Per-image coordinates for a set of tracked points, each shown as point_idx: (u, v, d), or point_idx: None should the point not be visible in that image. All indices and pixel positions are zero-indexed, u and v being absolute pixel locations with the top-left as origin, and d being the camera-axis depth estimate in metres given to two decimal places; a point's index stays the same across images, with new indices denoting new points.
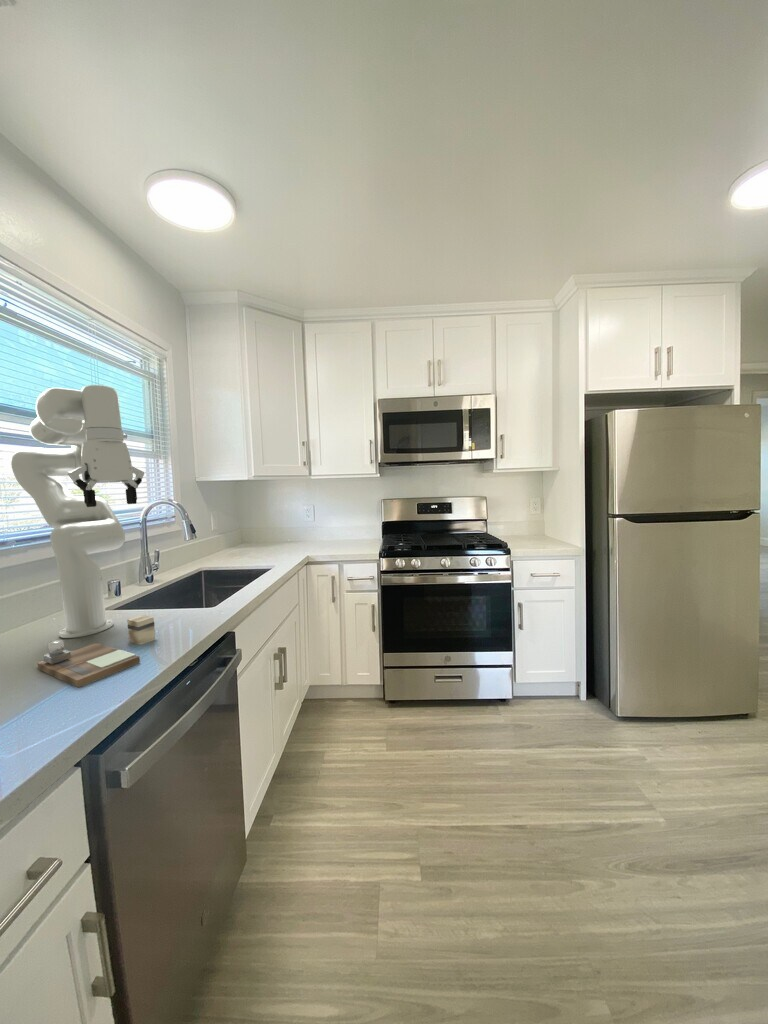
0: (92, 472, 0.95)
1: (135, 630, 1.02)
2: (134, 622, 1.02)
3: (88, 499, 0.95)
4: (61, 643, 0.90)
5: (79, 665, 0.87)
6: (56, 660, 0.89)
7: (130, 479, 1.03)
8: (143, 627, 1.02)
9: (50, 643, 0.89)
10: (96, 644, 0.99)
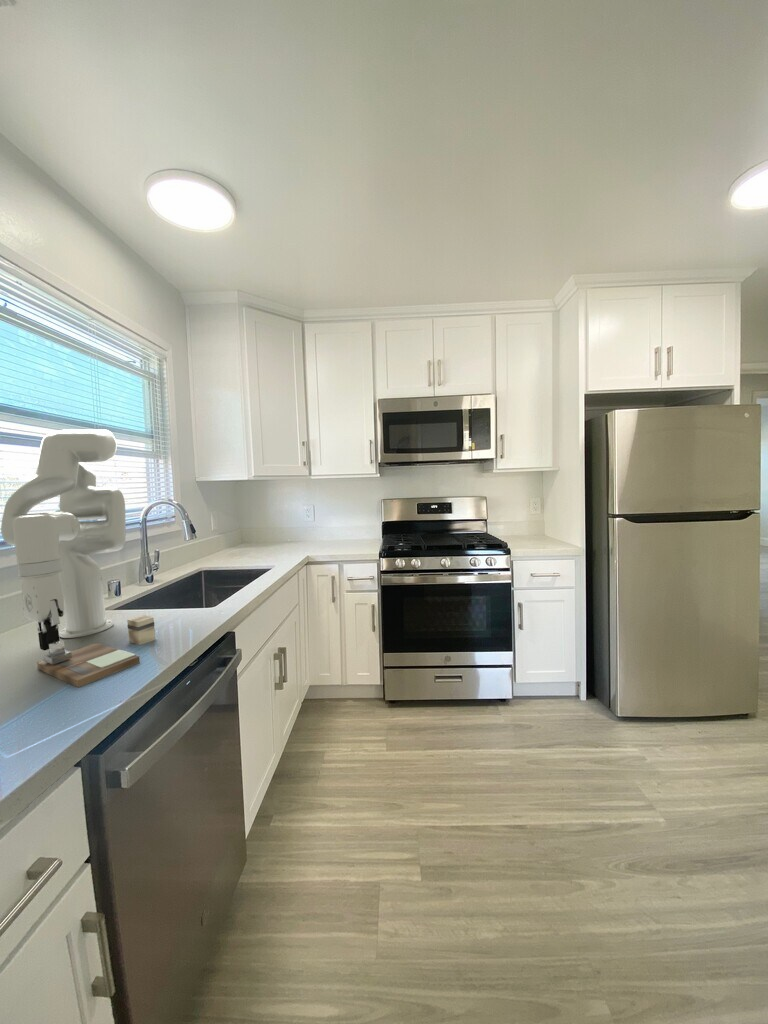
0: (63, 607, 0.90)
1: (135, 630, 1.02)
2: (134, 622, 1.02)
3: (56, 639, 0.91)
4: (62, 643, 0.90)
5: (79, 665, 0.87)
6: (57, 660, 0.88)
7: None
8: (143, 627, 1.02)
9: (51, 643, 0.89)
10: (96, 644, 0.99)
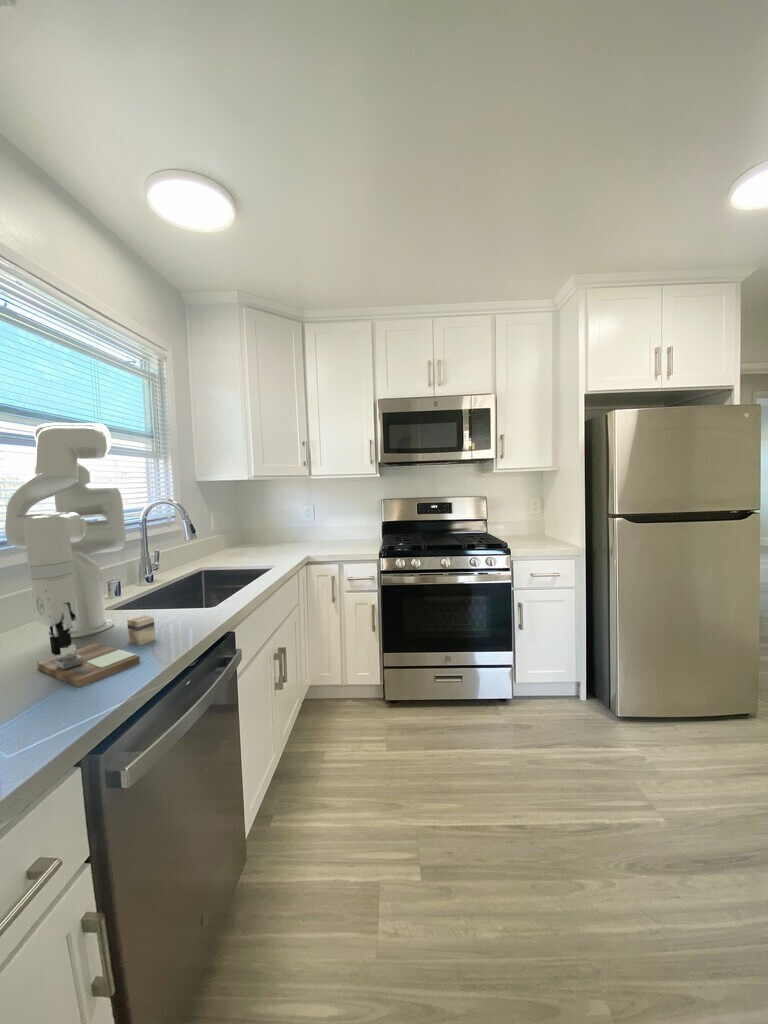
0: (75, 610, 0.87)
1: (135, 630, 1.02)
2: (134, 622, 1.02)
3: None
4: (73, 647, 0.87)
5: (79, 665, 0.87)
6: (68, 665, 0.85)
7: None
8: (143, 627, 1.02)
9: (62, 647, 0.86)
10: (96, 644, 0.99)
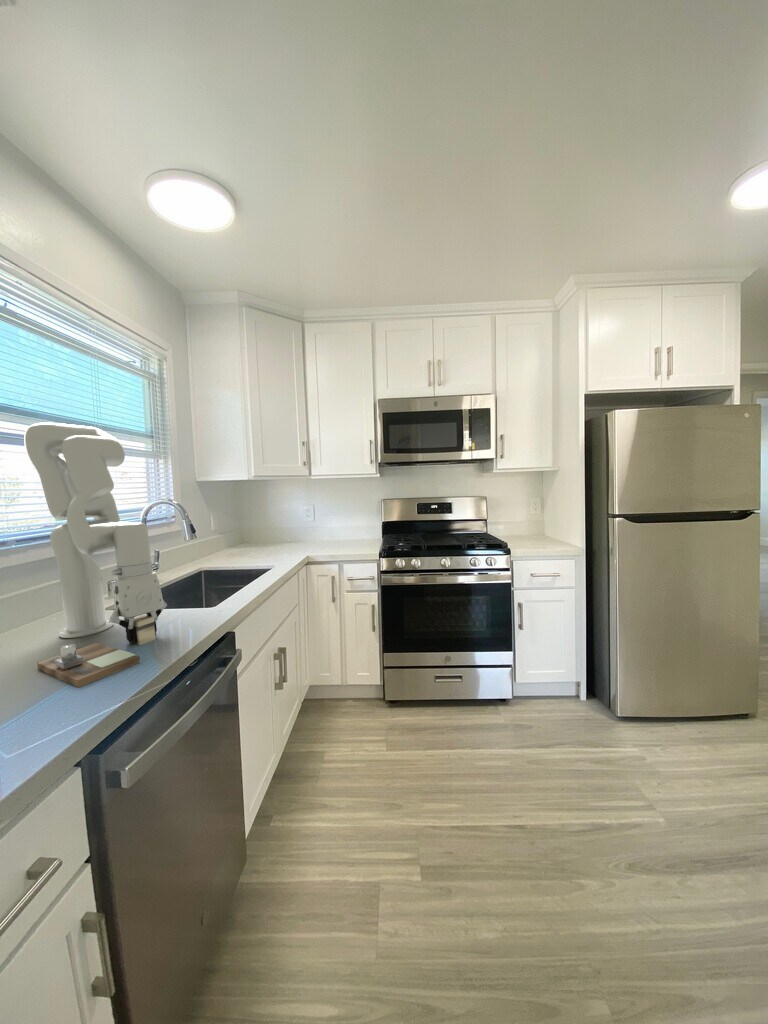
0: None
1: None
2: (134, 622, 1.02)
3: None
4: (73, 647, 0.87)
5: (79, 665, 0.87)
6: (68, 665, 0.85)
7: None
8: (143, 626, 1.02)
9: (62, 647, 0.86)
10: (96, 644, 0.99)
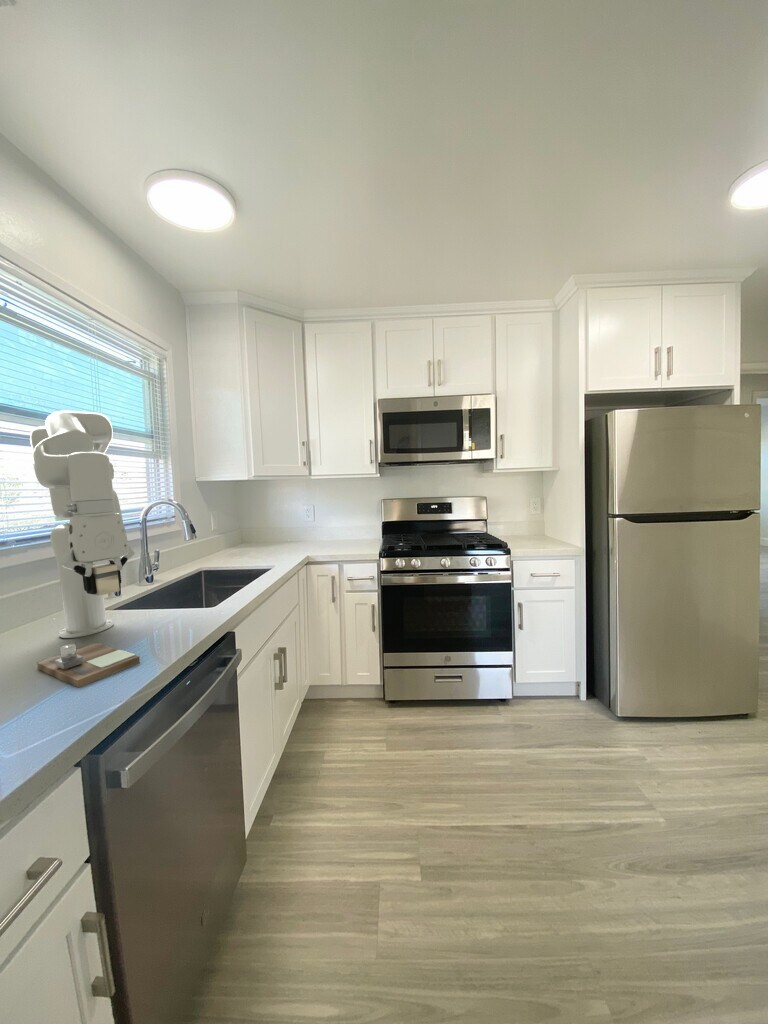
0: None
1: None
2: (93, 569, 0.86)
3: None
4: (73, 647, 0.87)
5: (79, 665, 0.87)
6: (68, 665, 0.85)
7: None
8: (103, 574, 0.87)
9: (62, 647, 0.86)
10: (96, 644, 0.99)
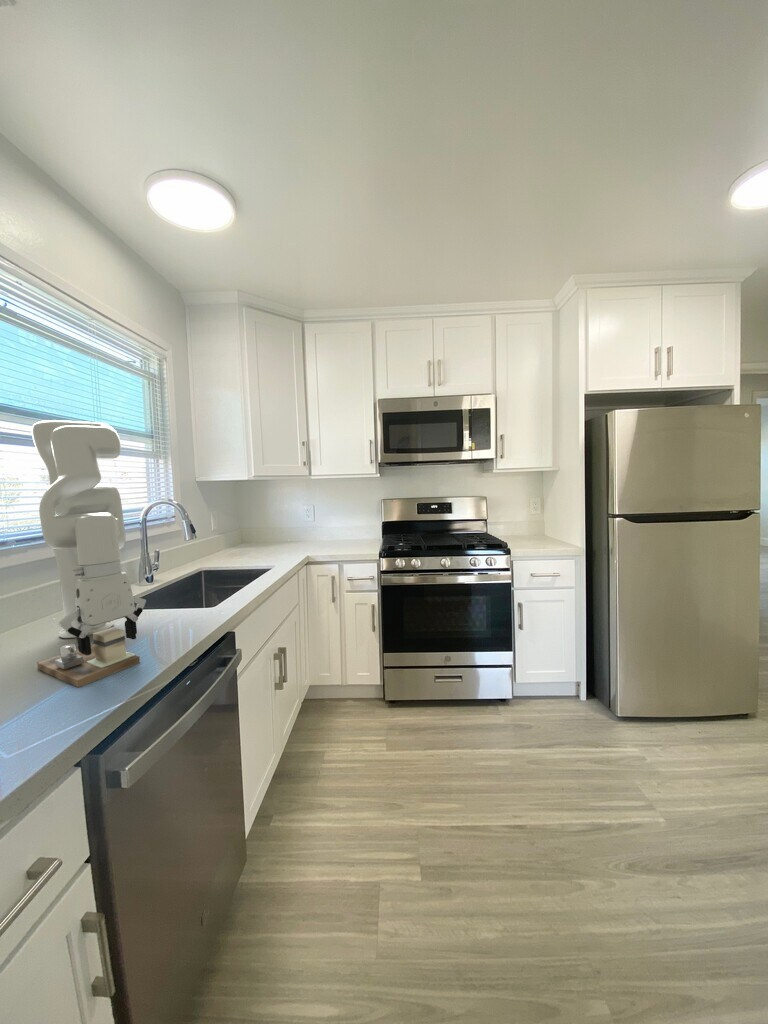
0: None
1: (101, 645, 0.87)
2: (100, 637, 0.87)
3: None
4: (73, 647, 0.87)
5: (79, 665, 0.87)
6: (68, 665, 0.85)
7: None
8: (111, 642, 0.88)
9: (62, 647, 0.86)
10: None
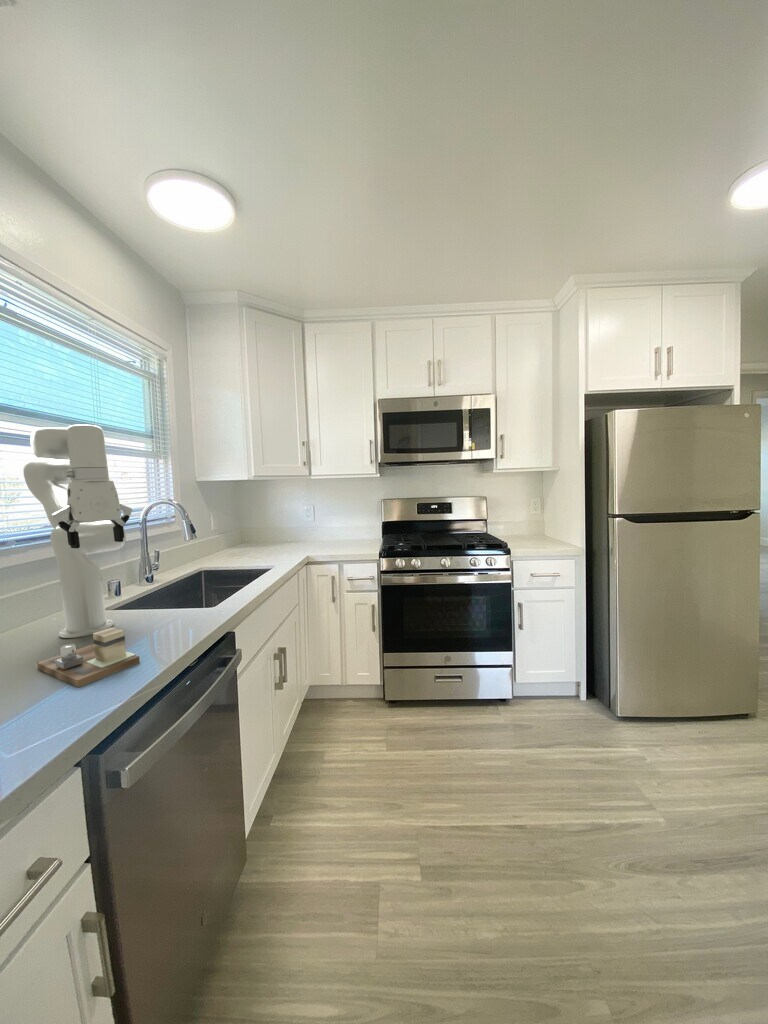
0: None
1: (101, 645, 0.87)
2: (100, 637, 0.87)
3: None
4: (73, 647, 0.87)
5: (79, 665, 0.87)
6: (68, 665, 0.85)
7: None
8: (111, 642, 0.88)
9: (62, 647, 0.86)
10: None
